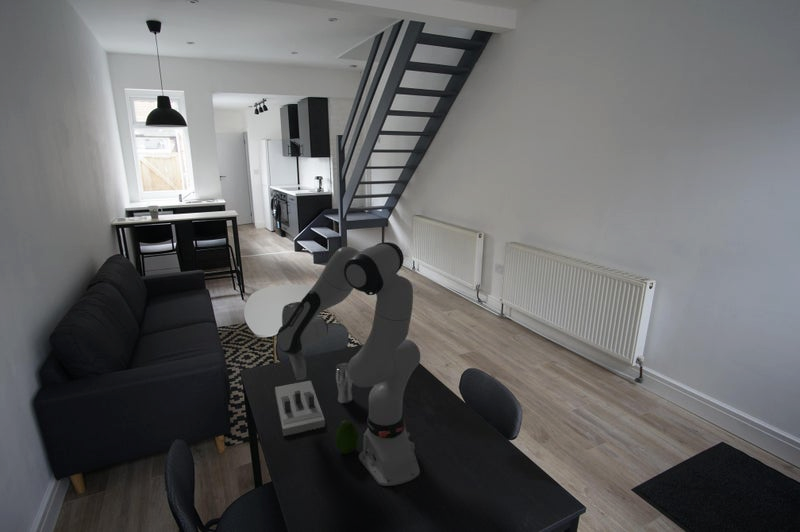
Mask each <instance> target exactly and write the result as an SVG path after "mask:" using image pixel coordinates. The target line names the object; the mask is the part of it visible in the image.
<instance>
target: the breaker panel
mask: <svg viewBox="0 0 800 532" xmlns="http://www.w3.org/2000/svg"><path fill="white" fill-rule="evenodd" d="M299 390H300V394H301V402H299V403H296V402H295V391H299ZM274 394H275V400H276V403H277V404H276V405H277V411H278V414H279V419H280V425H281V429H282V430H281V431H282V437H286V436H291V435H294V434H299V433H304V432H309V431H313V430H318V429H321V427H322V428H325V427H326V420H325V416H324V414H323V411H322V409H321V406H320V403H319V400H318V398H317V394H316V390H315V389H314V386H313V382H312V380H307V381H301V382H300V381H299V382H295V383H290V384H289V383H288V384H285V385H279V386H275V387H274ZM317 428H318V429H317ZM312 429H313V430H312ZM308 430H309V431H308Z"/></svg>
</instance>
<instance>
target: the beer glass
mask: <svg viewBox="0 0 800 532" xmlns="http://www.w3.org/2000/svg"><path fill="white" fill-rule="evenodd" d="M348 365H349V362H342V363H338V364H337V365H336V366H335V380H336V381H335V382H336V386H337V392H338V396H337V397H338V398H337V401H338V402H339V403H340V404H343V403H345V404H349V403H351V402H352V401H353V394H352V393H353V392H352V389H353V384H354V383H353V382H352V381H351V379H350V377H349V374H348Z"/></svg>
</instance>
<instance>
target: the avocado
mask: <svg viewBox="0 0 800 532" xmlns="http://www.w3.org/2000/svg"><path fill="white" fill-rule="evenodd" d="M359 443H360V434H359V431H358V430H357V428H356V426H355V424H354V423H353V421H351V420H350V419H344V420H342V421H341V423H340V424H339V426H338V428H337V430H336V433H335V445H336V448H337V449H338V451H339V452H340V453H342V454H344V455H345V454H347V455H349V454H352V453H353V452H354V451H355V450H356V448H358V445H359Z"/></svg>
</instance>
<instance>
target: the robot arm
mask: <svg viewBox="0 0 800 532" xmlns="http://www.w3.org/2000/svg"><path fill="white" fill-rule="evenodd" d="M404 258H405V257H404V253H403V251H402V249H401V248H400V246H398V245H397V244H395V243H394V242H391V241H389V242H387V241H386V242H379V243H377V244H374V245H373V246H370V247H367V248H364V249H363V250H361V251H358V250H357V249H356V248H354V247H351V246H342V247H340V248H338V249H337V250H336V251H335V252H334V253H333V254H332V256H331V257H330V259H329V260H328V261H327V263H326V265H325V267H324V268H323V271H322V272H321V274H320V276H319V277H318V279H317V280H316V282H315V283H314V285H313V286H312V287H311V288H310V290H309V291H308V292H307V293H306V294H305V296H304V297H303V298H302V299H301V301H294V302H291V303H288V304H286V305H284V306H283V308H282V313H281V323H282V326H280V327H279V328H278V331H277V335H276V344H277V346H278V348H279V349H280V350H281V351H282V352H284V353H286V354H287V355H288V357H289V360H290V363H291V366H292V367H291V368H292V370H293V374H294V378H295V380H296V381H301V380H305V379H306V378H307V367H306V358H305V356H304V355H305V354H306V351H308V350H309V347H312V346H313V345H316V344H317V343H319V342H321V341H323V340H325V339H326V338H327V336H328V333H329V326H328V322H327V321H326V319H325V318H324V317H323V316H321V315H320V314H321V313H322V312H324V311H326V310H328V309H329V308H332V307H334V306H336V305H338V304H340V303H342V302H343V301H344V300H346V298H348V297H349V295H351V293H352V292H353V290H354V289H355V290H356V291H359V292H361V293H364V294H366V295H368V296H374V295H375V296H376V300H375V302H376V303H375V310H374V316H373V320H372V321H373V322H372V327H371V330H370V332H369V335H368V337H367V338H366V340H365V342H364V344H363V345H362V347H361V348H360V350H358V352H357V353H355V355H354V356H352V357H351V358H350V360H349V361H348V363H349V365H348V374H349V377H350V379H351V381H352V382H353V383H352V384H353V385H355V386H356V387H358V388H369V387H372V388H371V390H370V391H369V395H368V415H367V419H366V420H367V429H366V430H365V432H364V434H363V441H362V448H363V449H362V450H361V452H359V454H358V459H359V460H360V462H361V463H362V464H363V466H364V468H366V469H367V471H368V473H370V475H371V476H372V477H373V478H374V480H375V481H376V483H378V485H380V486H386V487H387V486H389V487H390V486H397V485H401V484H405V483H408V482H410V481H413V480H414V479H415V478H418V476H419V475H420V474H421V469H420V467H419V464H418V460H417V457H416V454H415V450H416V447H415V442H412V441H410V440H409V438H410V437H411V435H410V432H407V429H406V423H405V417H404V412H403V401H404V393H405V390H406V386H407V384H408V381H409V379H410V377H411V375H412V373H413V372H414V370H415V369H416V368H417V367H418V366H419V365H420V362H421V352H420V349H419V347H418V345H417V344H416V343H415V341H413V340H411V339H406V338H407V336H408V334H409V330H410V324H411V319H412V313H413V303H414V288H413V284H412V282H411V281H410V280H409V279H408V278H406V277H404V276H402V275H399V274H398V272H399V271H400V270H401V269H402V266H403V264H404V260H405V259H404Z"/></svg>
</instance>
